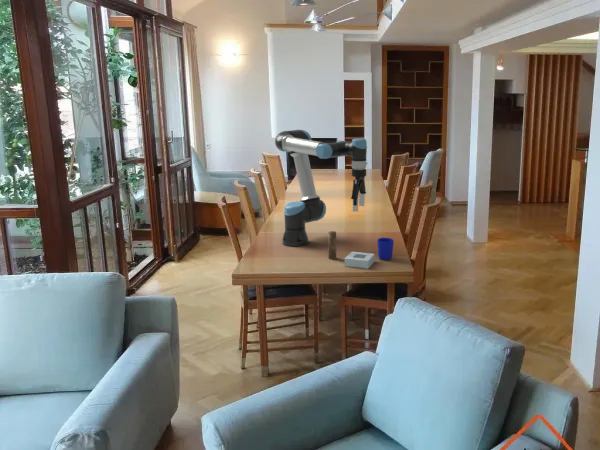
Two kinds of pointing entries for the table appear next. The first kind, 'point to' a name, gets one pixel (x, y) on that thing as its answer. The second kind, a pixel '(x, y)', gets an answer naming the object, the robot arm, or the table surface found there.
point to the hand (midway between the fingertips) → (358, 208)
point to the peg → (332, 244)
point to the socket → (359, 260)
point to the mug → (385, 248)
